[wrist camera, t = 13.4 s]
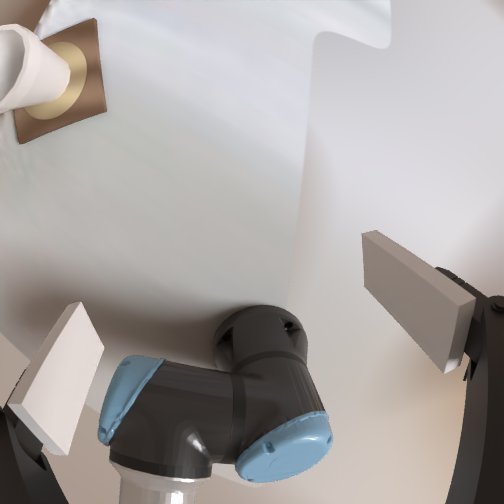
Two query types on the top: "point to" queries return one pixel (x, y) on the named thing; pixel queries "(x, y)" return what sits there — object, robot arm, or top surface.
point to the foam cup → (28, 70)
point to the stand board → (78, 89)
